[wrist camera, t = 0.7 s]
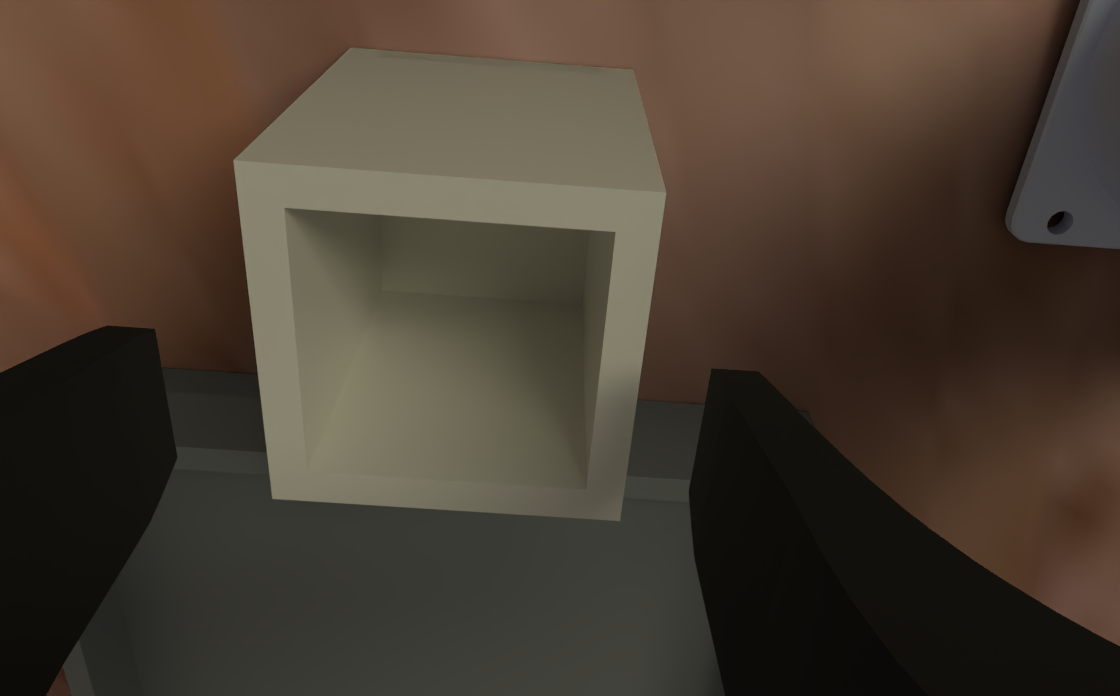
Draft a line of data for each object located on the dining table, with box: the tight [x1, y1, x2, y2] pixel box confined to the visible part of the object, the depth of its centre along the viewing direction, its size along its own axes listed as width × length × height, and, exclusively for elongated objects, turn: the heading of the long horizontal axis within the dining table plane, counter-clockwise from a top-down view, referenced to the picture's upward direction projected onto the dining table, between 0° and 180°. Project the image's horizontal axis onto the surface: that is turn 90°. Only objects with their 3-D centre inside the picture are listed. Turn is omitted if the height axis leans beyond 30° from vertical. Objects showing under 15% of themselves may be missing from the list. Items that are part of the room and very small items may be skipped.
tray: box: [63, 368, 814, 696], centre depth 24 cm, size 18×16×3 cm
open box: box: [233, 48, 666, 521], centre depth 16 cm, size 6×6×7 cm
